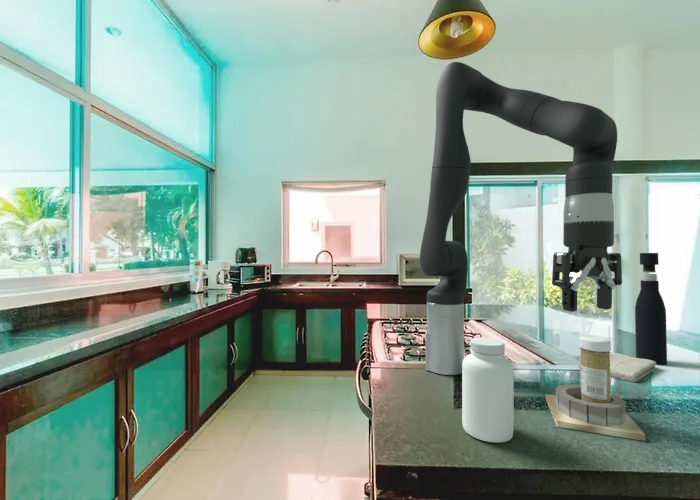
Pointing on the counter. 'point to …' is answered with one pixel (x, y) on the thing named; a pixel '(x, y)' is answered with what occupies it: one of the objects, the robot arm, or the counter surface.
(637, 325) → the black bottle
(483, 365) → the pill bottle
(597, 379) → the sprinkles bottle
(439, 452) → the counter surface
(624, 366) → the washcloth
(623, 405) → the collar
